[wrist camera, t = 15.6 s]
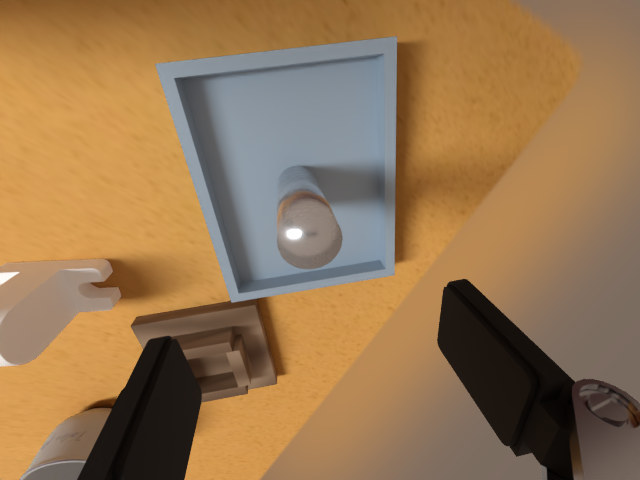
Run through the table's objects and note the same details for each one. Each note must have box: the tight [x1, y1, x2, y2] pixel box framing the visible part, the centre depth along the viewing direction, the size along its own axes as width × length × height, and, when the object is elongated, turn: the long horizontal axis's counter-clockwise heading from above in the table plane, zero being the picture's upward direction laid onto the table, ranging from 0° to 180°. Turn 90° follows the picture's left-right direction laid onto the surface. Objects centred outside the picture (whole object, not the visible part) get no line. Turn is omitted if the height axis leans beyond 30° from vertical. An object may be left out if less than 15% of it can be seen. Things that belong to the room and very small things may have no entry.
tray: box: [155, 36, 397, 303], centre depth 28 cm, size 22×18×3 cm
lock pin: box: [277, 166, 343, 269], centre depth 23 cm, size 4×4×12 cm
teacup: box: [20, 408, 112, 480], centre depth 38 cm, size 14×11×8 cm
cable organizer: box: [0, 259, 121, 366], centre depth 26 cm, size 5×10×10 cm, turn 88°
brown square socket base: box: [131, 299, 277, 402], centre depth 35 cm, size 14×14×4 cm
